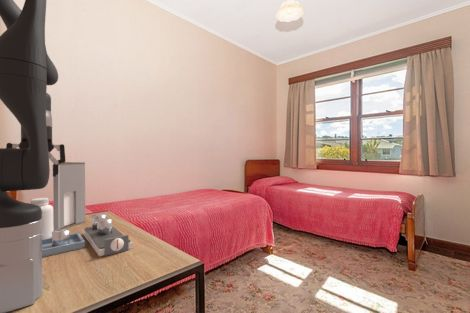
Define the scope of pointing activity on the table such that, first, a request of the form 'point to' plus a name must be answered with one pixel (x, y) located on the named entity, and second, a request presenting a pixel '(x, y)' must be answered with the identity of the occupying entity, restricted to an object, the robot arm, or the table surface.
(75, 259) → the table surface
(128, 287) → the table surface
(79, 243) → the tray
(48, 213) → the pill bottle
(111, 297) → the table surface
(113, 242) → the scale
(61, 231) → the cylinder
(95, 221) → the cylinder
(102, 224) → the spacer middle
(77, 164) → the cabinet
